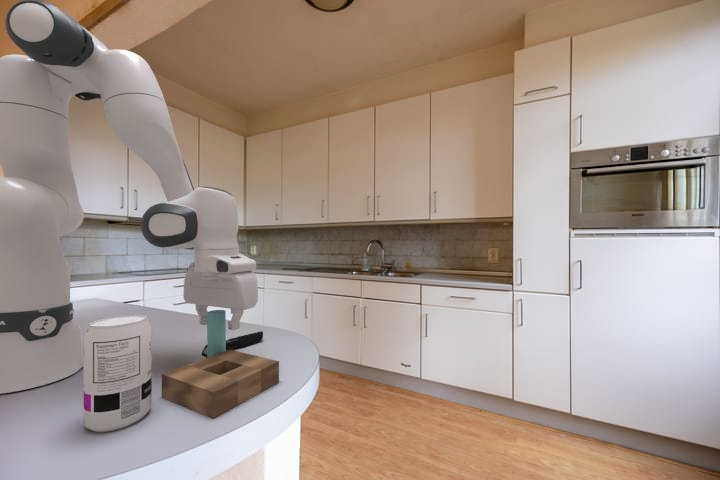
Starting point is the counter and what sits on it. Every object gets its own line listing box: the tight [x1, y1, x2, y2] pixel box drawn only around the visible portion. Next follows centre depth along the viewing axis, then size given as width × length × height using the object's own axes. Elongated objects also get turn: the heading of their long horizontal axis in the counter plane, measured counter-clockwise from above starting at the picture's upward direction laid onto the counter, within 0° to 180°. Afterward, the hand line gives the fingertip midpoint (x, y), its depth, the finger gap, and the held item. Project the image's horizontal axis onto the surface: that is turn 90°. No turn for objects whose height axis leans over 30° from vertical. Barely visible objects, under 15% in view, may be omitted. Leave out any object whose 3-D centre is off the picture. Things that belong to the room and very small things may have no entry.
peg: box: [206, 309, 227, 358], centre depth 67 cm, size 4×4×12 cm
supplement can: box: [83, 314, 153, 433], centre depth 48 cm, size 8×8×15 cm
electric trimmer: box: [201, 331, 264, 358], centre depth 79 cm, size 4×16×3 cm, turn 139°
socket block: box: [161, 349, 280, 419], centre depth 57 cm, size 14×14×4 cm
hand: (219, 326), depth 67 cm, fingers open, 8 cm apart
